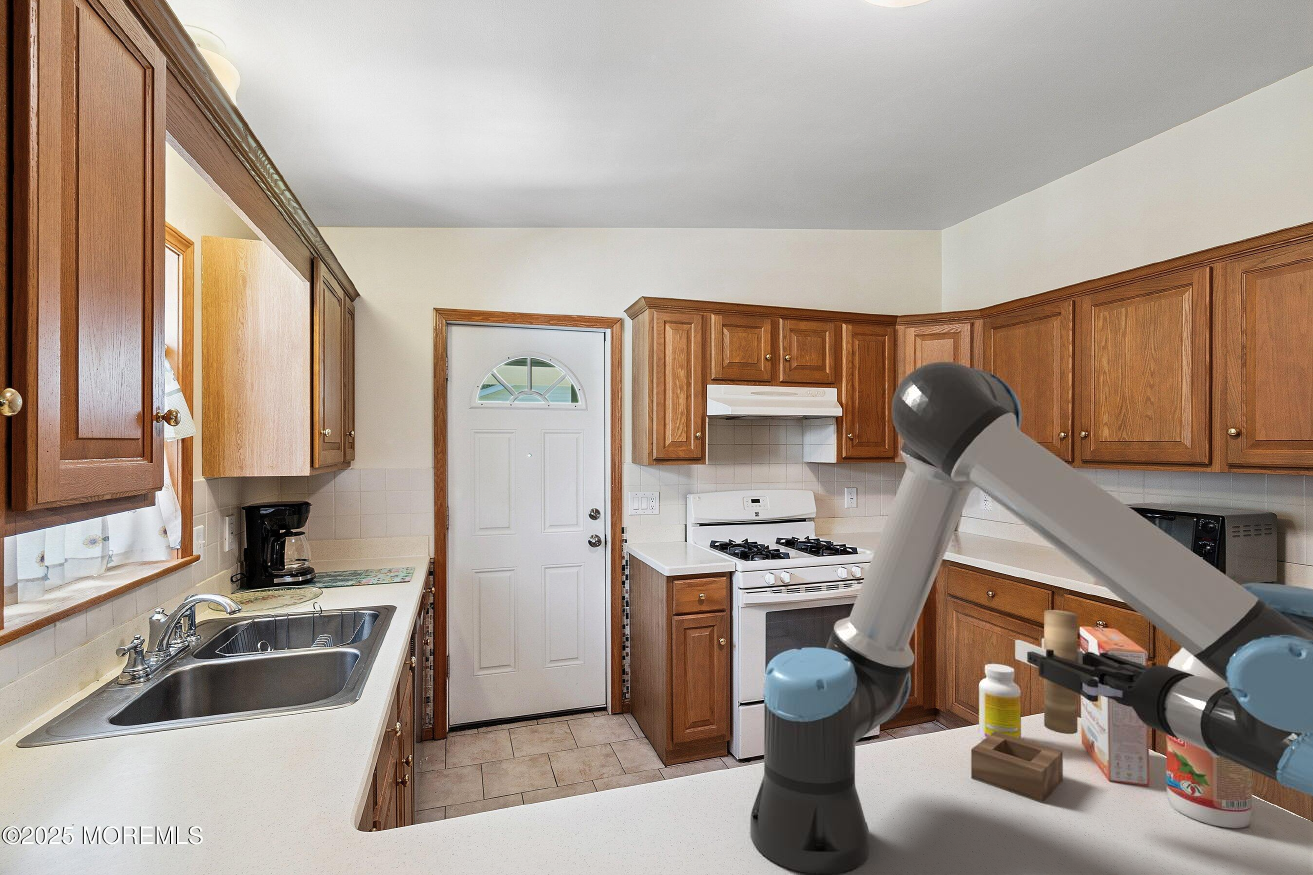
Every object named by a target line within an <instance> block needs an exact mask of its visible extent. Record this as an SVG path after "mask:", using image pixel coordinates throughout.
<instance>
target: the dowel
mask: <svg viewBox="0 0 1313 875" xmlns="http://www.w3.org/2000/svg"><path fill="white" fill-rule="evenodd" d="M1043 616H1044V617H1043V619H1044V622H1043V623H1044V625H1043V627H1044V628H1043V632H1044V633H1043V638H1044V649H1051V650H1054V653H1055V656H1057V657H1060V658H1064V659H1067V660H1070V661H1074V662H1077V649H1078V614H1077V613H1074V612H1071V611H1066V610H1065V611H1064V610H1057V609H1047V610H1044V612H1043ZM1043 679H1044V678H1043ZM1043 684H1044V685H1043V696H1044V697H1043V700H1044V702H1043V704H1044V705H1043V708H1044V709H1043V717H1044V718H1043V725H1044V727H1045V729H1046V728H1047V729H1048V730H1049V731H1053V732H1054V733H1060V734H1065V735H1074V734H1076V733H1078V732H1079V731H1078V725H1079V724H1078V719H1079V718H1078V693H1076V692H1074V691H1071V690H1069V689H1067V688H1065V687H1062V686H1060V685H1058V684H1056V683H1053V682H1051V681H1049V680H1047V679H1044V682H1043Z"/></svg>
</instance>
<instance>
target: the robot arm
mask: <svg viewBox="0 0 1313 875" xmlns="http://www.w3.org/2000/svg"><path fill="white" fill-rule="evenodd" d="M891 401H892V402H891V418H892V423H893V426H894V427H895V430H896V432H897V434H898V435H899V437H900V438H901V440H902V441H903V443H902V446H901V449H900V454H901V456H902V459H903V460H904V462H905V465H906V468H905V471H904V473H903V477H902V479H901V482H900V484H899V487H898V490H897V492H896V495H895V497H894V500H893V503H892V505H891V508H890V510H889V513H888V516H887V518H886V520H885V524H884V526H883V528H882V531H881V534H880V536H879V539H878V542H877V544H876V547H875V549H874V552H873V555H872V558H871V561H870V562H869V565H868V568H867V571H866V573H865V576H864V579H863V581H862V583H861V586H860V588H859V591H858V594H857V596H856V599H855V601H854V604H853V606H852V610H851V611H850V615H849V616H848V617H846V618H841V619H839V620H837V621H836V622H835V623H834V625H833V629H832V631H831V634H830V637H829V639H828V642H827V644H826V647H825V648H824V647H812V646H811V647H807V646H805V647H802V648H801V649H798V648H793V649H789V650H785V651H782V652H781V653H779V654H776V655H775V656H774V657H772V659H771V660H770V661H769V663H768V664H767V666H766V669H765V676H764V678H765V679H764V683H763V690H762V691H763V692H762V693H763V694H762V697H763V700H764V702H763V703H764V705H763V707H764V708H763V711H764V713H763V716H764V718H763V719H764V720H763V722H764V726H763V729H764V732H763V733H764V734H763V735H764V736H763V737H764V741H763V742H764V743H763V745H764V746H763V747H764V748H763V757H764V758H763V761H764V763H763V769H764V771H763V777H762V780H761V782H760V785H759V789H758V792H757V795H756V796H755V800H754V804H753V807H752V809H751V813H750V818H749V819H750V820H749V821H750V822H749V823H750V825H749V826H750V827H749V828H750V829H749V830H750V832H749V834H750V839H751V841H752V843H753V845H754V846H755V848H756V849H757V850H758V851H759V852H760V853H761V854H762V855H763V856H765V858H767V859H768V860H770V861H771V862H773V863H776V864H777V865H779V866H782V867H783V868H786V869H790V870H793V871H795V872H796V871H797V872H800V873H807V874H810V875H811V874H813V875H834V874H835V875H836V874H842V873H847V872H848V871H851V870H854V869H856V868H858V867H859V866H860V865H862V864H863V863H864V862H865V861H866V859H868V856H869V853H870V831H869V830H870V829H869V826H868V822H867V821H866V817H865V813H864V810H863V806H862V803H861V801H860V797H859V793H858V791H857V788H856V744H857V741H859V740H860V739H862V738H863V737H864V736H866V735H867V734H868V733H870V732H872V731H873V730H874V729H876V728H878V726H881V725H882V724H885V723H886V722H888V721H889V720H892V719H893V718H894V717H896V714H899V712H900V711H901V710H902V709H903V707H904V705H905V703H906V702H907V700H908V698H909V695H910V692H911V687H912V682H911V680H912V678H911V677H912V676H911V672H910V671H911V670H912V668H913V664H914V662H915V654H914V653H913V651H912V648H911V646H910V644H909V643H910V640H911V638H912V636H913V633H914V631H915V628H916V625H917V624H918V621H919V618H920V616H921V614H922V611H923V609H924V606H925V604H926V601H927V598H928V596H929V594H930V591H931V590H932V587H933V584H934V582H935V579H936V577H937V574H938V573H939V572H938V571H939V569H940V567H941V564H942V562H943V560H944V557H945V554H946V553H947V550H948V547H949V545H950V543H951V540H952V538H953V535H954V533H955V530H956V528H957V525H958V524H959V520H960V518H961V516H962V513H963V510H964V509H965V506H966V503H967V501H968V498H969V496H970V494H971V491H972V490H974V489H975V488H978V489H979V490H980V491H982V492H983V493H984V494H986V495H987V496H988V497H990V498H991V499H992V500H993V501H994V502H996V503H997V504H998V505H1000V506H1001V507H1002V508H1003V509H1005V510H1006V511H1008V512H1009V513H1010V514H1011V515H1013V516H1014V517H1015V518H1016V519H1018V520H1019V521H1020V522H1021V523H1023V524H1024V525H1025V526H1027V527H1028V528H1029V529H1030V530H1032V531H1033V532H1034V533H1036V534H1037V535H1038V536H1039V537H1041V538H1042V539H1043V540H1044V541H1046V542H1047V543H1048V544H1050V545H1051V546H1052V547H1054V548H1055V549H1056V550H1057V551H1059V552H1060V553H1061V554H1062V555H1063V556H1065V557H1066V558H1067V559H1069V560H1070V561H1071V562H1073V563H1074V564H1075V565H1076V566H1078V567H1079V568H1080V569H1082V570H1083V571H1084V572H1086V573H1087V574H1088V575H1090V577H1092V578H1093V579H1095V580H1096V581H1097V582H1099V583H1100V584H1101V585H1102V586H1104V587H1105V588H1106V589H1107V590H1109V591H1110V592H1111V593H1112V594H1114V595H1115V596H1116V597H1117V598H1119V599H1120V600H1122V602H1124V604H1126V605H1127V606H1129V607H1131V608H1132V609H1133V610H1134V611H1135V612H1137V613H1138V614H1139V615H1140V616H1142V617H1143V618H1144V619H1146V620H1147V621H1148V622H1150V623H1151V624H1152V625H1154V627H1156V628H1157V629H1158V630H1160V631H1161V632H1162V633H1164V634H1165V635H1166V636H1168V638H1170V639H1171V640H1172V641H1174V642H1175V643H1177V645H1179V646H1180V647H1181V648H1182V647H1183V648H1184V649H1185V650H1187V651H1188V652H1189V653H1191V654H1192V655H1193V656H1194V657H1196V658H1197V659H1198V660H1199V661H1200V662H1201V663H1203V664H1204V665H1205V666H1206V667H1207V668H1209V669H1210V670H1211V671H1212V672H1214V673H1215V674H1216V675H1218V676H1219V677H1220V678H1221V679H1223V680H1224V681H1225V682H1226V683H1228V685H1225V684H1222V683H1219V682H1216V681H1213V680H1210V679H1207V678H1204V677H1199V676H1194V675H1192V674H1189V673H1186V672H1183V671H1180V670H1177V669H1174V668H1171V667H1168V665H1163V664H1160V665H1153V666H1149V665H1148V666H1145V665H1142V664H1139V663H1136V662H1133V661H1130V660H1127V659H1123V658H1120V657H1117V656H1114V655H1111V654H1108V653H1105V652H1102V653H1100V656H1099V655H1097V654H1095V653H1093V652H1085V653H1083V651H1081V650H1080V649H1078V648H1077V662H1074V661H1070V660H1067V659H1064V658H1060V657H1057V656H1055V653H1054V650H1051V649H1044V637H1042V638H1041V646H1038V645H1035V644H1031V643H1029V642H1026V641H1023V640H1021V639H1015V640H1014V642H1015V643H1014V655H1015V656H1014V659H1016V660H1018V661H1020V662H1023V663H1026V664H1028V665H1030V666H1033V667H1035V668H1037V669H1038V677H1040V678H1042V679H1047V680H1049V681H1051V682H1053V683H1056V684H1058V685H1060V686H1062V687H1065V688H1067V689H1069V690H1071V691H1074V692H1076V693H1077V695H1080V696H1081V695H1082V696H1083V697H1084V698H1086V699H1087V700H1089V701H1091V702H1097V701H1098V695H1101V696H1104V697H1107V698H1110V699H1113V700H1115V701H1116V702H1117V703H1119V704H1122V705H1125V706H1130V707H1132V708H1133V709H1134V711H1135V712H1136V714H1137V716H1138V717H1139V718H1140V720H1141V721H1142V722H1143V723H1144V724H1146V725H1147V726H1149V728H1151V729H1153V730H1156V731H1157V732H1161V733H1163V734H1165V735H1166V734H1167V735H1170V736H1172V737H1175V738H1179V739H1181V740H1183V741H1185V742H1187V743H1190V744H1192V745H1194V746H1197V747H1199V748H1201V749H1204V750H1206V751H1208V752H1209V755H1210V756H1212V757H1214V758H1219V757H1222V758H1225V759H1228V760H1230V761H1232V762H1234V763H1237V764H1239V765H1241V766H1243V767H1245V768H1248V769H1250V770H1252V771H1253V772H1255V773H1257V774H1259V775H1262V776H1264V777H1266V778H1268V779H1270V780H1272V781H1275V782H1277V783H1279V784H1281V786H1284V787H1285V788H1288V789H1292V790H1295V791H1298V792H1300V793H1302V794H1305V795H1308V796H1311V797H1313V588H1308V587H1304V586H1303V587H1301V586H1296V585H1287V584H1277V583H1263V582H1251V583H1250V582H1249V583H1244V584H1241V585H1240V584H1239V583H1238V582H1236V581H1235V580H1233V579H1232V578H1230V577H1229V576H1228V575H1226V574H1224V572H1221V571H1220V569H1217V568H1216V567H1215V566H1213V565H1212V564H1210V563H1209V562H1207V561H1206V560H1205V559H1203V558H1202V557H1200V556H1199V555H1198V554H1196V553H1194V552H1193V551H1192V550H1191V549H1189V548H1188V547H1186V546H1185V545H1184V544H1182V543H1181V542H1179V541H1177V540H1176V539H1175V538H1174V537H1172V536H1171V535H1169V534H1168V533H1166V532H1165V531H1163V530H1162V529H1161V528H1159V527H1158V526H1156V525H1155V524H1154V523H1152V522H1150V521H1149V520H1148V519H1146V518H1145V517H1143V516H1142V515H1141V514H1139V513H1138V512H1137V511H1135V510H1134V509H1132V508H1131V507H1129V506H1127V505H1126V504H1125V503H1123V501H1121V500H1120V499H1118V498H1116V497H1115V496H1113V495H1112V494H1111V493H1110V492H1108V491H1106V490H1105V489H1104V488H1102V487H1101V486H1100V485H1098V484H1096V483H1095V482H1094V481H1092V480H1091V479H1090V478H1088V477H1087V476H1085V475H1084V474H1082V473H1081V472H1079V471H1078V470H1077V469H1075V468H1074V467H1072V466H1071V465H1070V464H1068V462H1065V461H1064V460H1063V459H1061V458H1060V457H1058V456H1056V455H1055V454H1054V453H1052V452H1051V451H1049V449H1046V447H1044V446H1042V445H1041V444H1040V443H1038V442H1037V441H1035V440H1034V439H1032V438H1031V437H1030V436H1028V435H1027V434H1025V433H1024V432H1022V431H1021V429H1020V428H1021V425H1022V420H1023V412H1022V407H1021V403H1020V400H1019V398H1018V395H1017V394H1016V393H1015V391H1014V390H1013V389H1012V387H1011V386H1010V385H1009V384H1007V383H1006V382H1005V381H1004V380H1003V379H1002V378H1001V377H999V376H997V375H996V374H992V373H991V372H988V371H986V370H982V369H981V370H980V369H976V368H972V367H969V366H967V365H965V364H960V363H956V362H954V361H936V362H930V363H926V364H924V365H921V366H919V367H918V368H916V369H914V370H912V371H911V372H910V373H908V374H907V375H906V376H905V377H904V378H903V380H901V382H900V383H899V385H898V386H897V388H896V390H895V392H894V394H893V398H892V400H891Z"/></svg>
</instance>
